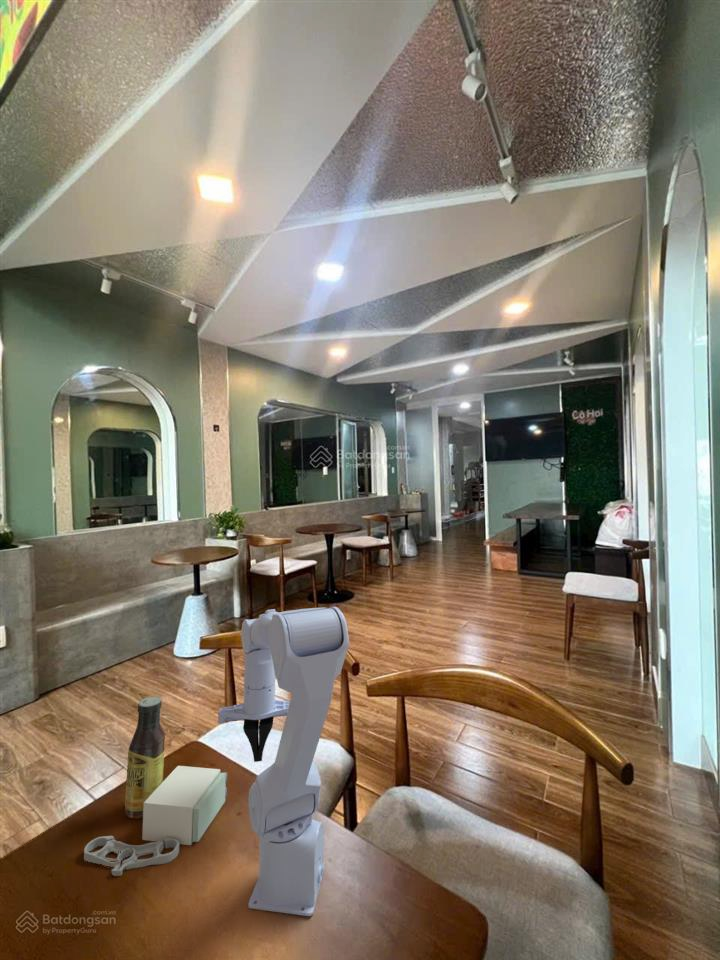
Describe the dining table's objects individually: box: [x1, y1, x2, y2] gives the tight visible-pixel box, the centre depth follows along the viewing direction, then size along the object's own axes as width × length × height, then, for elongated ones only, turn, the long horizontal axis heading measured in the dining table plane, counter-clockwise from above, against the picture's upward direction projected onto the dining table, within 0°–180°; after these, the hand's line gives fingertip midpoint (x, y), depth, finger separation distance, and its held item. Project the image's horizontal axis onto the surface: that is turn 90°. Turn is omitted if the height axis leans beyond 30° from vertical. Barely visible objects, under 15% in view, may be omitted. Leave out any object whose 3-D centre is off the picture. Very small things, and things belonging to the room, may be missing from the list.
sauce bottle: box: [124, 696, 166, 820], centre depth 75 cm, size 7×6×20 cm
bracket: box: [83, 835, 180, 877], centre depth 64 cm, size 8×2×15 cm
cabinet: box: [141, 765, 221, 846], centre depth 71 cm, size 9×10×6 cm
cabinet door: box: [193, 771, 228, 843], centre depth 71 cm, size 1×10×5 cm, turn 171°
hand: (258, 758), depth 72 cm, fingers closed
